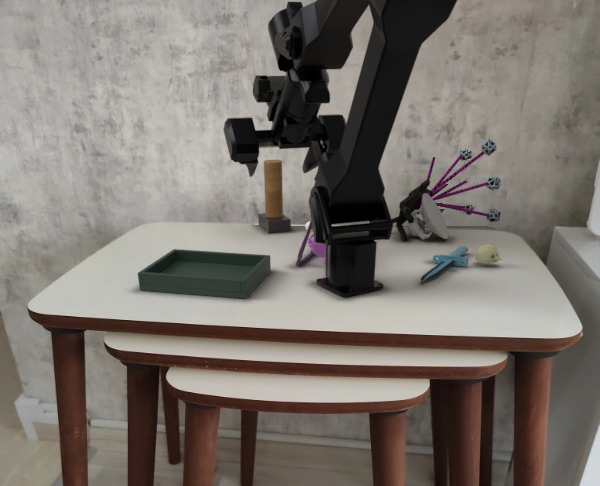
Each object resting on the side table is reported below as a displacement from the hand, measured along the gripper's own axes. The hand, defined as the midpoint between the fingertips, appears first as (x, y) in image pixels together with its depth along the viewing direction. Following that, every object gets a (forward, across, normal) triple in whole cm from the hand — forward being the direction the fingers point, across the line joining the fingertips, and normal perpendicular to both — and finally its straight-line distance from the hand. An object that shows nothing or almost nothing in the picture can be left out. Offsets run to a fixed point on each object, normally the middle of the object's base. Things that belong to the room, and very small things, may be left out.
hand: (277, 172), depth 98 cm
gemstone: (-14, -22, +27) cm, 37 cm away
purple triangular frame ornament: (-6, -1, +20) cm, 21 cm away
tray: (-9, +17, +22) cm, 29 cm away
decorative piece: (-4, -11, +14) cm, 19 cm away
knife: (-12, -14, +25) cm, 31 cm away
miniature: (-6, -22, +14) cm, 27 cm away
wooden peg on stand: (+8, 0, +5) cm, 10 cm away
